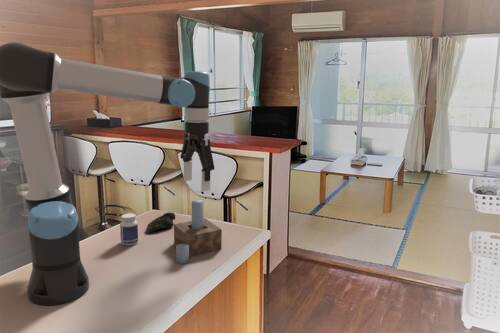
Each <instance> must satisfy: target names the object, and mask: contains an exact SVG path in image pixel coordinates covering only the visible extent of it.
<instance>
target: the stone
mask: <svg viewBox="0 0 500 333" xmlns="http://www.w3.org/2000/svg"><path fill="white" fill-rule="evenodd" d="M174 220H176V214H175V212H166V213H163V214H162V215H160V216H158V217H157V218H155V219H153V220H152V221H150V222H149V223H148V224H147V226H146V228H145V229H146V233H147V234H151V233H153V232H156V231H157V230H160V229H161V230H162V229H166V230H167V229H168V230H169V229H171V228H173V227H174Z"/></svg>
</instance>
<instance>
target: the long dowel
mask: <svg viewBox="0 0 500 333" xmlns="http://www.w3.org/2000/svg"><path fill="white" fill-rule="evenodd" d="M204 204H205V202H204V200H203V199H193V200H191V221H192V230H193V231H196V230H201V229H204V219H205V218H204V217H205V216H204V211H205V210H204V207H205V206H204Z"/></svg>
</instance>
